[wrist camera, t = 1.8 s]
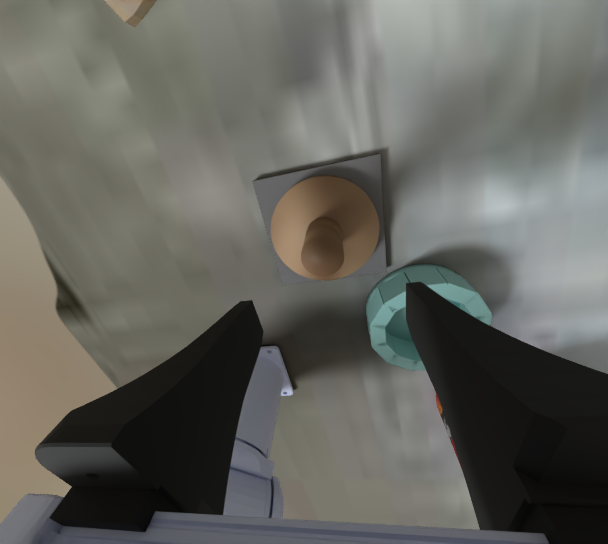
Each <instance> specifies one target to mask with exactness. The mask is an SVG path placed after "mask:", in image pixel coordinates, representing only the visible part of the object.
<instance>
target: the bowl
mask: <svg viewBox="0 0 608 544" xmlns="http://www.w3.org/2000/svg"><path fill="white" fill-rule="evenodd" d="M412 282H422V283H424V284H425V285H426V286H428V287H429V288H431V289H432V290H433V291H435V292H436V293H438V294H439V295H441V296H442V297H443V298H445V299H446V300H448V301H449V302H451V303H452V304H454V305H455V306H457V307H459V308H460V309H462V310H463V311H465V312H467V313H468V314H470V315H472V316H473V317H475V318H477V319H479V320H480V321H482V322H484V323H486V324H488V325H489V326H490V325H491V320H492V313H491V311H490V310H489V308H488V307H487V305H486V304H485V302H484V301H483V299H482V298H481V296H480V295H479V293H478V292H477V291H476V290H475V289H474V288H473V287H472V286H471V285H470V284H469V283H468V282H467V281H466V280H465V279H464V278H463V277H462V276H459V275H458V274H457V273H455V272H454V271H452V270H450V269H448V268H446V267H443V266H439V265H433V264H417V265H411V266H407V267H404V268H401V269H398V270H396V271H394V272H392V273H390V274H388V275H387V276H385V277H384V278H383V279H382V280H380V281H379V282H378V283H377V284H376V285H375V287H374V288H373V289H372V291H371V292H370V294H369V296H368V299H367V302H366V316H367V324H368V331H369V335H370V340H371V345H372V348H373V349H374V350H375V351H376V352H377V353H378V354H379V355H380V356H381V357H382V358H383V359H384V360H385V361H386V362H388V363H389V364H392V365H395V366H399V367H402V368H405V369H408V370H413V371H415V370H426V369H425V367H424V364H423V362H422V360H421V358H420V356H419V354H418V351H417V349H416V347H415V345H414V343H413V340H412V338H411V335H410V332H409V328H408V325H407V322H406V283H412Z"/></svg>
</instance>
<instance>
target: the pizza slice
mask: <svg viewBox="0 0 608 544" xmlns="http://www.w3.org/2000/svg"><path fill="white" fill-rule="evenodd" d="M105 1H106V2H107V4H108V5H109V6H110V7H111V8H112V9H113V10H114V11H115V12H116V13H117V14H118V15H119V16H120V17H121V18H122V19H123V20H124V21H125V22H126V23H128V24H130V25H132V26H133V27H135V26H136V25H137V24H138V23H139V22H140V21H141V20H142V19H143V18H144V16H145V15H146V14H147V12H148V11H149V10H150V8H151V7H152V6H153V4H154V3H155V2H156V0H105Z"/></svg>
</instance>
